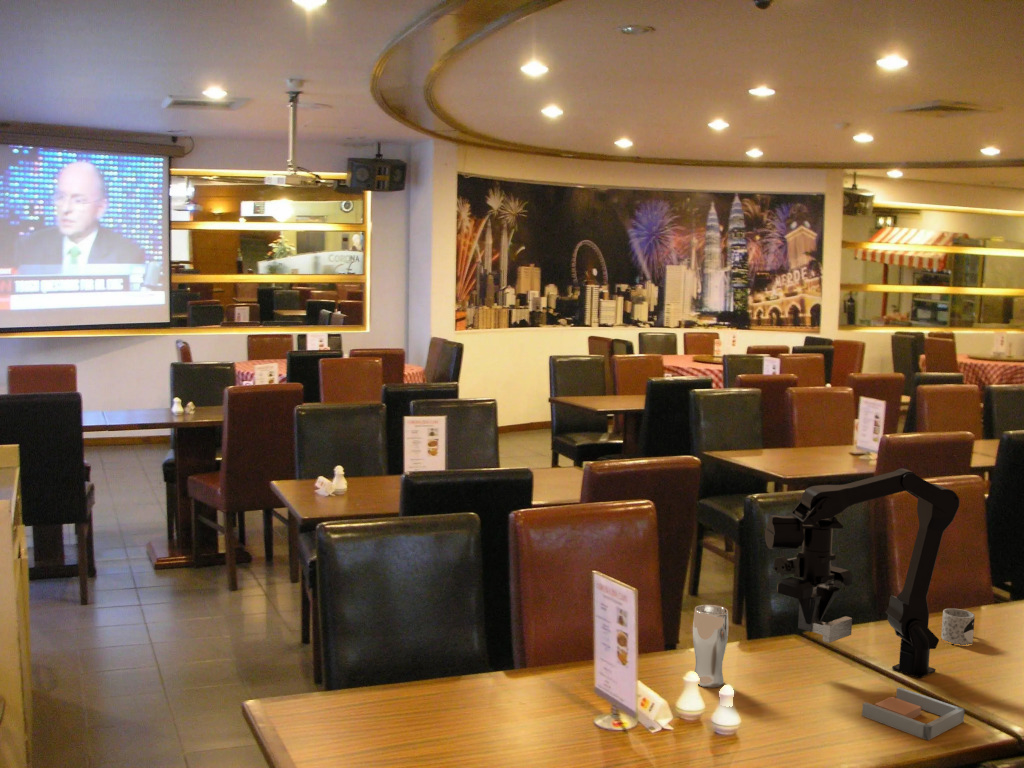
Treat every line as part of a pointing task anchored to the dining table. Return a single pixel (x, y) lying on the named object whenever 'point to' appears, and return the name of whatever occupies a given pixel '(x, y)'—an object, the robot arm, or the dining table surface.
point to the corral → (926, 731)
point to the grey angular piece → (826, 626)
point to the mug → (958, 626)
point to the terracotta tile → (900, 707)
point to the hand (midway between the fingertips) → (813, 622)
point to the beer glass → (710, 643)
